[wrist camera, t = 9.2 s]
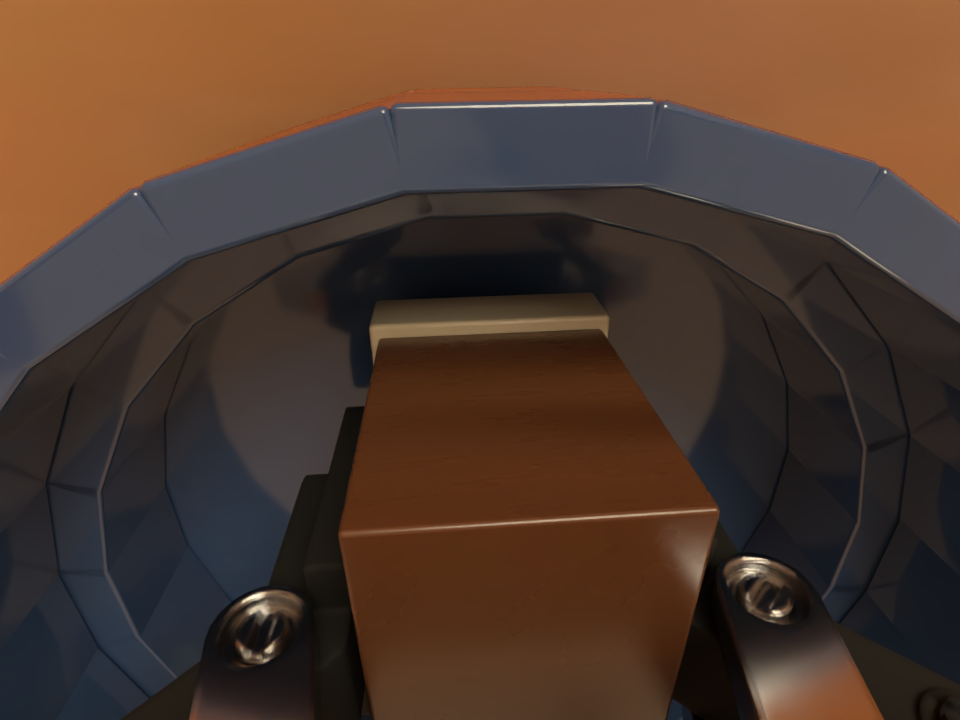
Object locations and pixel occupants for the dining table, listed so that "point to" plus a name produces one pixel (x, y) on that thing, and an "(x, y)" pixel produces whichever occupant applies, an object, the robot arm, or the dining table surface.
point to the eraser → (517, 518)
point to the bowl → (468, 273)
